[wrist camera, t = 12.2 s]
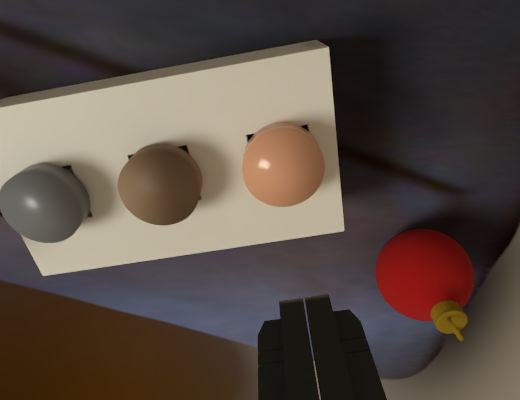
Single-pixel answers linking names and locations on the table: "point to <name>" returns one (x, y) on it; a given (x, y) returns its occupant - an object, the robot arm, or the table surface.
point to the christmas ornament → (426, 278)
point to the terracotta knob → (282, 165)
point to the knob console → (177, 134)
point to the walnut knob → (160, 184)
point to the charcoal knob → (45, 202)
